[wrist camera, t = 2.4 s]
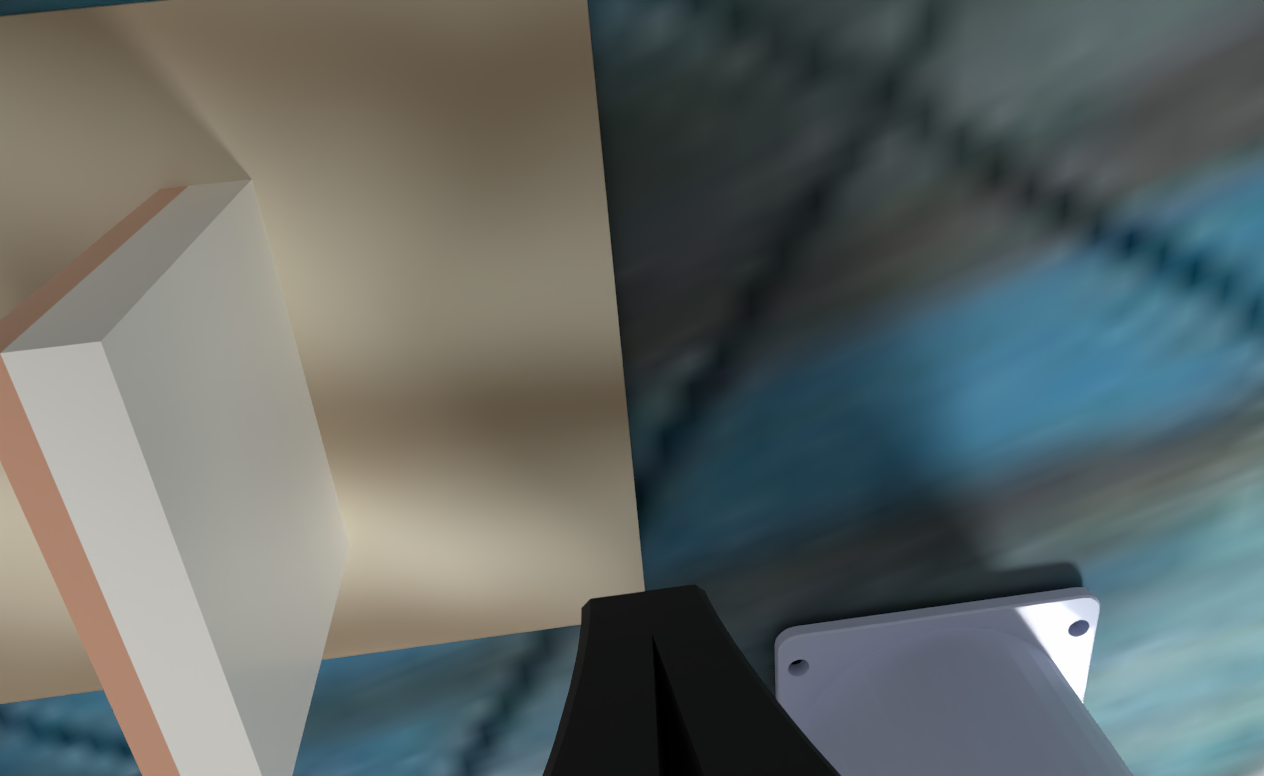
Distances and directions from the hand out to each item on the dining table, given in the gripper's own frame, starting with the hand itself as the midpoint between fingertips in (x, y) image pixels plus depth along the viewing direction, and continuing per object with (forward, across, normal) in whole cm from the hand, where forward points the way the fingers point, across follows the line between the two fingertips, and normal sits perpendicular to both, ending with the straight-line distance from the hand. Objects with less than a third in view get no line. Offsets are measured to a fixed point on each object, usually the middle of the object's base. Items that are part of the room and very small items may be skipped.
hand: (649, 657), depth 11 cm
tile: (+9, +6, 0) cm, 11 cm away
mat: (+9, +8, 0) cm, 13 cm away
